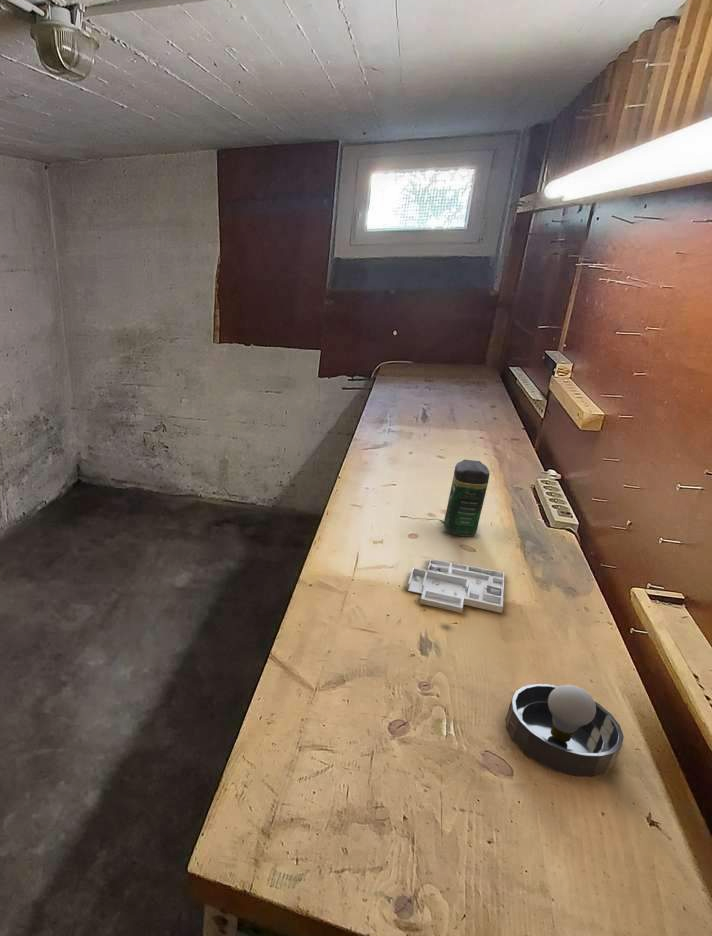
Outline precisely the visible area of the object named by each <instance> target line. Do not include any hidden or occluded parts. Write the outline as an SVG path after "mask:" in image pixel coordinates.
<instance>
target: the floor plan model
mask: <svg viewBox="0 0 712 936" xmlns="http://www.w3.org/2000/svg"><path fill="white" fill-rule="evenodd" d="M406 591H409V592H413V593H418V594H421V596H420V602H419V603H420V604H421V605H425V606H430V607H434V608H438V609H443V610H447V611H452V612H456V613H460V614H462V613H463V610H464V609H463V608H464V605H465V606H470V607H473V608H477V609H482V610H487V611H491V612H496V613H500V614H502V613H503V610H504V592H505V571H504V572H503V571H498V570H493V569H488V568H483V567H479V566H478V567H477V566H473V565H469V564H459V563H454V562H450V561H446V560H445V561H444V560H439V559H435V558H430V559H429V563H428V568H427V569H423V568H419V567H418V568H417V567H412V569H411V571H410V575H409V579H408V582H407V588H406Z"/></svg>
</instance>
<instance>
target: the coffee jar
mask: <svg viewBox="0 0 712 936" xmlns="http://www.w3.org/2000/svg"><path fill="white" fill-rule="evenodd" d="M490 476H491V475H490V470H489V467H488V466H487V465H485V464H484V463H483V462H482V461H480V460H472V459H463V460H461V461H459V462H457V463H456V465H455V466H454V471H453V477H452V481H451V487H450V492H449V495H448V499H447V501H448V502H447V505H446V512H445V516H444V520H443V526H444V529H445V531H446V532H447V533H450V534H452V535H456V536H460V537H471V536H474V535H476V534H477V531H478V528H479V523H480V519H481V514H482V510H483V507H484V502H485V498H486V493H487V489H488V485H489V480H490Z"/></svg>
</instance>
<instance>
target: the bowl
mask: <svg viewBox="0 0 712 936" xmlns="http://www.w3.org/2000/svg"><path fill="white" fill-rule="evenodd" d="M559 686H560V685H555V684H551V683H550V684H549V683H531V684H527V685H522V686H521V687H520V688H519V689H517V690H516V691H514V693H513V695H512V698H511V699H510V704H509V706H508V710H507V713H506V717H505V719H504V720H505V727H506V729H505V730H506V731H507V733H508V735H509V737H510V739H511V740H512V742H513V743H514V744H515V746H517V747H518V748H519V749H520V751H521V752H522V753H523V754H525V755H526V756H527V757H529V758H530V759H532V760H533V761H535V762H536V763H538V764H539V765H541V766H544V767H546V768H548V769H550V770H552V771H554V772H557V773H559V774H563V775H568V776H571V777H575V778H595V777H599V776H603V775H605V774H606V773H608V772H609V771H610V770H612V768H613V767H614V765H615V762H616V760H617V758H618V757H619V754H620V751H621V750H622V747H623V744H624V743H623V742H624V738H625V736H624V733H623V730H622V727H621V725H620V723H619V722H618V721H617V720H616V718H615V717H614V716H613V714H611V712H610V711H608V710H607V709H606V708H605V707H603V706H602V705H601V704H599V703H598V702H597V701H595V700H594V702H595V705H596V714H595V717H594V719H593V720H592V721H591V722H590V723H588V724H586V725H584V726H581V727H579V728H578V729H577V730H576V731H575V732H574V733H573V735H572V737H571V739H570V741H568V742H562V741H559V740H557V739H555V738H554V737H553V736H552V735H551V728H552V725H553V720H552V718H553V716H552V713H551V712H550V709H549V706H548V698H549V695H550V693H551V692H552V691H553V690H554V689H555V688H557V687H559Z"/></svg>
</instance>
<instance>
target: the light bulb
mask: <svg viewBox="0 0 712 936" xmlns="http://www.w3.org/2000/svg"><path fill="white" fill-rule="evenodd" d="M558 686H559V687H557V688H555V689H554V690H553V691H552V692H551V693H550V695H549V698H548V706H549V709H550V712H551V713H552V716H553V718H552V720H553V725H552V728H551V735H552V736H553V737H554V738H555V739H557V740H559V741H562V742H568V741H570V739H571V737H572V735H573V733H574V732H575V731H576V730H577V729H578V728H579V727H581V726H584V725H586V724H588V723H590V722H591V721H592V720H593V719H594V717H595V714H596V705H595V702H596V701H595V700H594V698H593V696H591V694H590V693H589V692H588V691H586V690H585V689H583V688H582V687H581V686H577V685H575V684H573V685H572V684H562V685H558ZM594 701H595V702H594Z"/></svg>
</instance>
